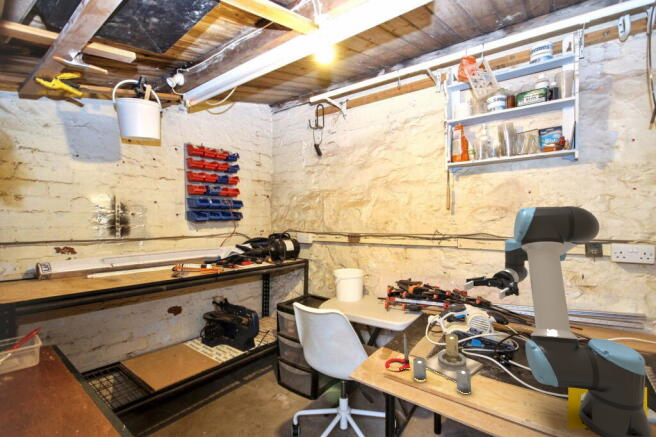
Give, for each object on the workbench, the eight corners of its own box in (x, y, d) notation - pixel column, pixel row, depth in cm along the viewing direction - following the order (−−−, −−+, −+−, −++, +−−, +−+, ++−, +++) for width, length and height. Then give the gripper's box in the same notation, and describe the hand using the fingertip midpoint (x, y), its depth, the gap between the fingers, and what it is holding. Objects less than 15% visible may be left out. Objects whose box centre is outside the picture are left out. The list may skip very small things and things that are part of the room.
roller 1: (428, 378, 116) (428, 360, 116) (421, 384, 113) (421, 365, 113) (418, 373, 120) (417, 356, 119) (411, 378, 117) (410, 360, 116)
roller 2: (474, 391, 108) (473, 371, 107) (464, 396, 106) (463, 375, 105) (463, 384, 112) (462, 365, 111) (454, 389, 110) (453, 369, 109)
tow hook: (387, 373, 122) (411, 371, 121) (384, 341, 121) (408, 339, 120) (384, 361, 130) (407, 359, 130) (381, 331, 129) (404, 329, 128)
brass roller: (460, 363, 122) (460, 336, 121) (454, 368, 120) (454, 340, 119) (450, 359, 126) (449, 332, 125) (443, 363, 123) (443, 336, 122)
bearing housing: (482, 366, 122) (482, 357, 121) (461, 385, 112) (461, 375, 111) (444, 351, 134) (444, 343, 134) (421, 366, 124) (421, 357, 124)
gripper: (538, 294, 127) (517, 309, 114) (476, 282, 146) (451, 293, 133) (538, 275, 126) (517, 289, 113) (476, 265, 145) (451, 276, 132)
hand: (481, 291), depth 123 cm, fingers open, 13 cm apart
